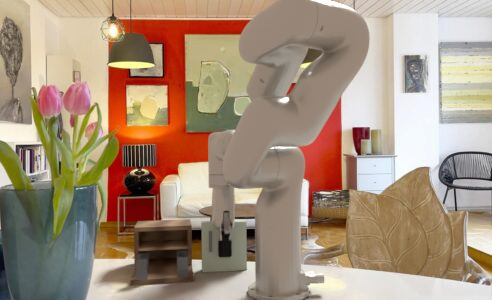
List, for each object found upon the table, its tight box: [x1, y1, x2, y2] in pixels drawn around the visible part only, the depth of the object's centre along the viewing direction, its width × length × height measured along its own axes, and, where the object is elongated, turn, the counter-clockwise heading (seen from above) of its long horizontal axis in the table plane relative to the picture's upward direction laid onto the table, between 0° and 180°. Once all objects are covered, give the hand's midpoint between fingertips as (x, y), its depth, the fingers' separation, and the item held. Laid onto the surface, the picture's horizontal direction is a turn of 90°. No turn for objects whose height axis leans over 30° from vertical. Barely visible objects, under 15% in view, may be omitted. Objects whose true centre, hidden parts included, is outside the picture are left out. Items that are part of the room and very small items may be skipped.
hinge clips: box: [136, 251, 188, 280], centre depth 97 cm, size 11×6×4 cm, turn 100°
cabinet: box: [129, 218, 195, 286], centre depth 103 cm, size 14×20×11 cm
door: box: [200, 219, 248, 273], centre depth 103 cm, size 11×3×12 cm, turn 100°
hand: (224, 254), depth 104 cm, fingers closed on door, 2 cm apart
